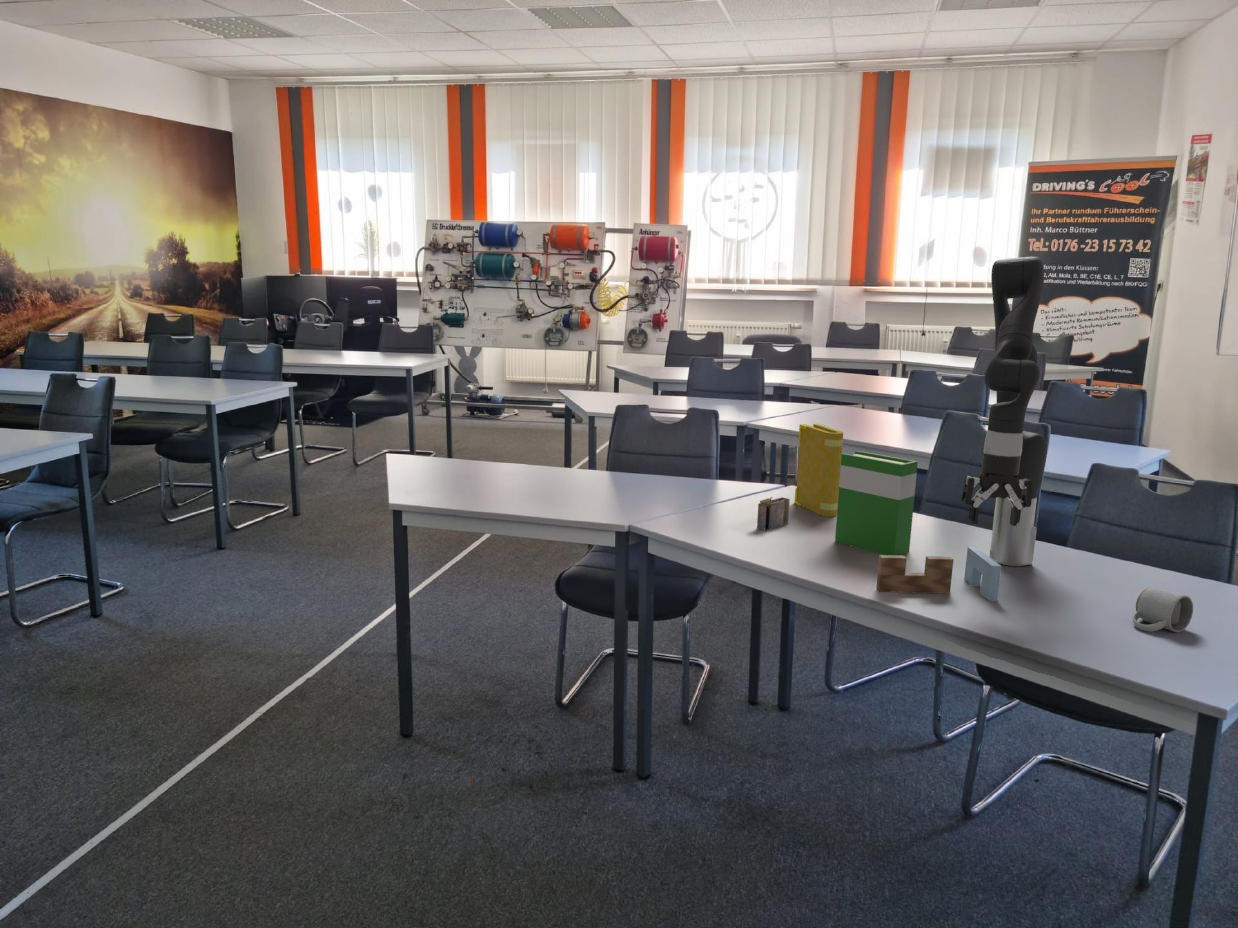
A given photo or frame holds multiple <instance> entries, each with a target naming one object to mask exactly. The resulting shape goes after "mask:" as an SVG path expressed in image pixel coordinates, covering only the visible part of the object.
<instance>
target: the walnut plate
mask: <svg viewBox="0 0 1238 928" xmlns="http://www.w3.org/2000/svg"><path fill="white" fill-rule="evenodd" d="M924 561H925V562H924V572H906V569H907V568H906V567H907V557H906V556H905V555H883V554H879V556H878V566H877V577H876V590H877V591H878V592H879V593H910V594H911V593H913V592H915V593H916V594H917V593H919V594H920V593H921V594H951V587H952V586H951V585H952V578H953V568H954V558H953V557H951V556H937V555H935V556H933V555H926V556H925V560H924ZM913 594H914V593H913Z"/></svg>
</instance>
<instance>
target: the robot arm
mask: <svg viewBox="0 0 1238 928" xmlns="http://www.w3.org/2000/svg"><path fill="white" fill-rule="evenodd" d="M1044 267H1045V266H1044V262H1043V260H1042V259H1041V258H1040V257H1038V256H1023V257H1021V256H1020V257H1013V258H1011V257H1010V258H1002V259H997V260H995V261H993V264H992V267H991V277H990V279H991V294H992V302H993V305H992V306H993V315H994V326H995V327H994V328H995V329H994V330H995V334H994V335H995V338H994V339H995V341H994V342H995V347H994V348H995V349H994V355H992V357H991V359H990V361H989V363H988V365H987V367H986V369H985V373H984V383H985V385H986V387H987V388H988V389H989V390H991V391H993V392H996V403H993V404H992V405H991V406H990V408H989V416H988V422H987V431H986V435H985V438H984V445H983V452H982V453H983V454H982V462H981V469H980V471H981V472H980V475H979V476H978V477H973V476H970V475H966V476H965V477H964V482H963V486H962V487H963V489H962V492H961V493H962V494H961V502H963V503H964V504H965V505H968V506H969V509H968V510H969V511H968V520H969V521H970V523H971V524H972V525H978V521H979V513H980V508H979V506H980V505H981V504H982V503H983V502H985V501H986V500H987V499H988V498H990V499H995V505H994V506H995V507H994V513H993V521H992V522H993V523H992V532H991V540H990V549H989V555H988V556H989V557H990V558H991V559H993V560H994V561H995V562H997V563H998V564H999V565H1003V566H1008V567H1009V566H1010V567H1024V566H1027V565H1028V566H1029V565H1033V560H1034V553H1035V546H1036V537H1037V529H1038V528H1037V527H1036V526H1035V515H1036V510H1037V509H1036V508H1037V507H1036V506H1037V501H1038V499H1037V498H1038V494H1039V493H1038V492H1039V490H1040V487H1041V485H1042V482H1043V477H1044V476H1043V475H1044V471H1045V466H1046V462H1047V461H1046V459H1047V454H1048V445H1047V441H1046V439H1045V437H1044V435H1042V434H1041V433H1037V432H1031V431H1026V430H1024V425H1025V418H1026V412H1027V409H1028V405H1029V403H1030V401H1031V398H1032V396H1033V393H1034V391H1035V390H1036V387H1037V385H1038V382H1039V380H1040V376H1041V371H1040V367H1039V365H1038V350H1037V349H1036V347H1035V345H1034V343H1033V337H1034V336H1033V335H1034V327H1035V321H1036V318H1037V314H1038V311H1039V306H1040V303H1041V299H1042V294H1043V290H1044V285H1045V284H1044V283H1045V270H1044V269H1045V268H1044ZM1021 298H1022V299H1021ZM1008 299H1021V301H1020V302H1019V303H1018V304H1017V305H1016V306H1015V307H1014V308H1013V309H1012V310H1011V307H1010V304H1009V300H1008ZM977 485H979V486H980V488H979V489H978V490H977V491H976V492H975V494H974V493H973V492H974V488H975V487H976V486H977ZM973 494H974V496H973Z"/></svg>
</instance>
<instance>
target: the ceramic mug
mask: <svg viewBox="0 0 1238 928" xmlns="http://www.w3.org/2000/svg"><path fill="white" fill-rule="evenodd" d="M1193 613H1194V603H1193V601H1192V598H1191V597H1189V595H1186V594H1181V593H1177V592H1173V591H1168V590H1165V589H1161V588H1155V587H1154V588H1153V587H1148V588H1145V589H1143V590H1142V591H1141V592H1140V593H1139V595H1138V597H1137V599H1136V601H1135V612H1134V614H1133V616H1132V622H1133V625H1134V627H1135V628H1136V629H1138V630H1140V631H1144V632H1157V631H1160V630H1162V629H1166V630H1168V631H1171V632H1174V633H1181V632H1183V631H1184V630H1186V629H1187V627H1188V626H1189V625H1190V622H1191V621H1192V618H1193ZM1139 619H1141V620H1143V621H1144V622H1146V623H1149V624H1143V623H1140V622H1138V620H1139Z"/></svg>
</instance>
